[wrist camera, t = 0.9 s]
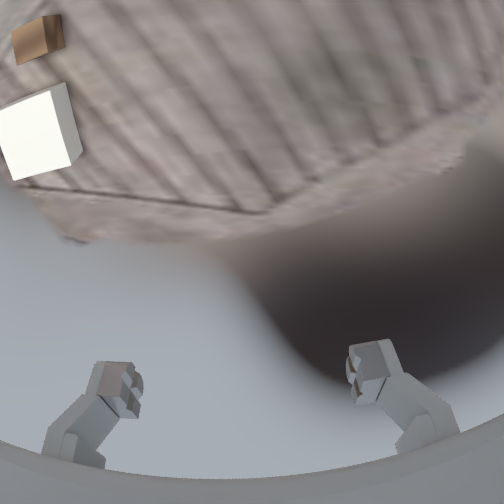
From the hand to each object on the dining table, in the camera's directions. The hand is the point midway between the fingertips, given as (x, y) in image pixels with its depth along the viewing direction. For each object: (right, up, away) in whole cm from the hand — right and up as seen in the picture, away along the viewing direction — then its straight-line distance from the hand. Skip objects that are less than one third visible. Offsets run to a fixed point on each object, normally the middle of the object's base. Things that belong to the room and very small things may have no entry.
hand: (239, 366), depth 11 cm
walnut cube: (-26, +32, +16) cm, 45 cm away
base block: (-30, +22, +25) cm, 45 cm away
